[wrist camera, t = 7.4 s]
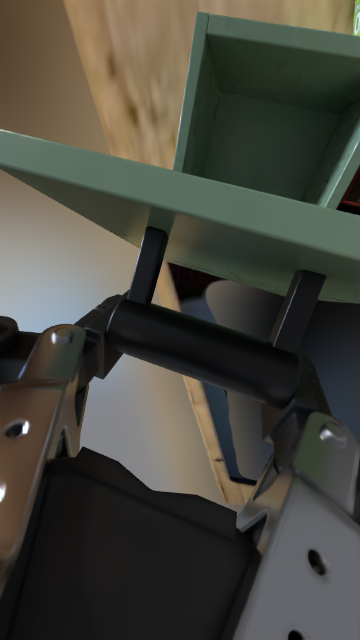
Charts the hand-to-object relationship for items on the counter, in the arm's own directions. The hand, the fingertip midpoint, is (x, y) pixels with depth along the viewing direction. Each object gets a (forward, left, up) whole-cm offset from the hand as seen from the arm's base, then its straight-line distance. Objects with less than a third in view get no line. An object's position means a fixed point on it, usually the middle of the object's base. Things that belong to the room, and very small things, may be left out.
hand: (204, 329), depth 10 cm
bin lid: (-3, 0, -4) cm, 5 cm away
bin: (-7, 0, -21) cm, 22 cm away
